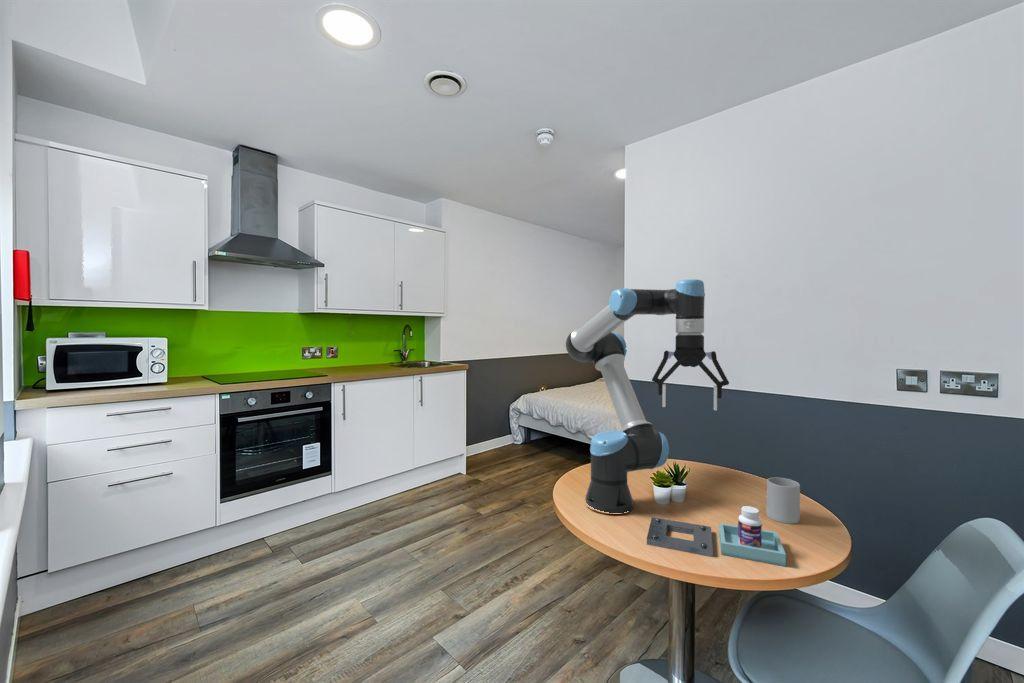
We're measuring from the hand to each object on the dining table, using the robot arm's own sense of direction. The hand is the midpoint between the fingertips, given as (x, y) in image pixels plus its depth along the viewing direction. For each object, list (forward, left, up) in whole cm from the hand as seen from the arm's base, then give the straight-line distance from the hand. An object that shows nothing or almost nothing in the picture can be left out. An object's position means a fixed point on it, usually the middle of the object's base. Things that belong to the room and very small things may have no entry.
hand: (689, 408), depth 122 cm
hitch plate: (-2, -8, -35) cm, 36 cm away
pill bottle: (+15, -7, -34) cm, 38 cm away
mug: (+26, +19, -35) cm, 47 cm away
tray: (+15, -7, -35) cm, 38 cm away
